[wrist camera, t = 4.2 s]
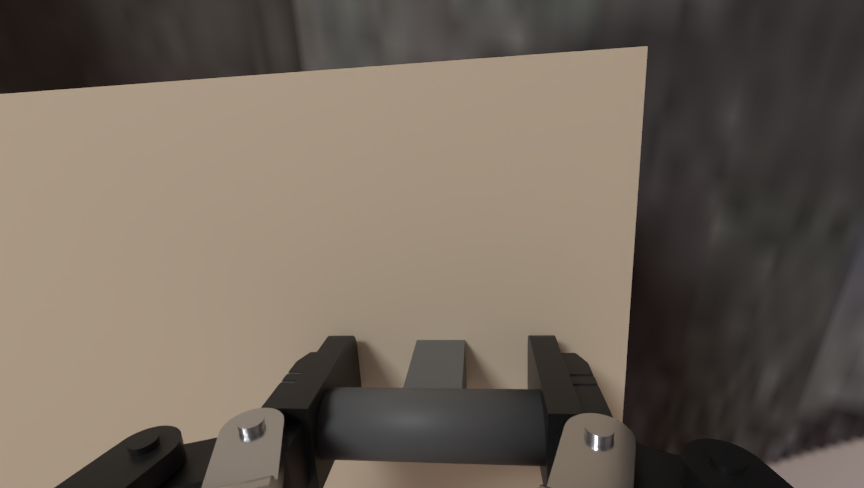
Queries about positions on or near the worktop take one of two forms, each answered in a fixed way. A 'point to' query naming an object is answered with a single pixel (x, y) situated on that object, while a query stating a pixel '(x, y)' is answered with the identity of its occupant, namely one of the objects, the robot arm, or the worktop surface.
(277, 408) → the robot arm
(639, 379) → the worktop surface
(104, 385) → the carton lid
